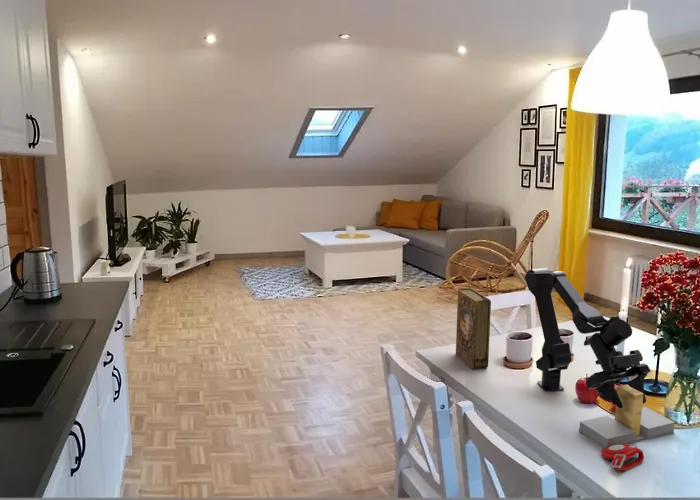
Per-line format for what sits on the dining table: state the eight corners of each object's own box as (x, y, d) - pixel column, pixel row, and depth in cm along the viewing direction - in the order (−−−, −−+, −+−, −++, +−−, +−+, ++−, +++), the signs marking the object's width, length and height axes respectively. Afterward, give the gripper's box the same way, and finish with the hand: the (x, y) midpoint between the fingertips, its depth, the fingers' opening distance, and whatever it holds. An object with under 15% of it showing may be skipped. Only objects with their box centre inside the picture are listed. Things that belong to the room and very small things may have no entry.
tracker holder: (593, 445, 155) (631, 436, 154) (598, 461, 155) (635, 453, 154) (611, 460, 143) (652, 451, 142) (616, 478, 143) (657, 469, 142)
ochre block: (613, 426, 165) (617, 386, 163) (622, 424, 166) (626, 384, 164) (630, 436, 160) (635, 395, 158) (639, 434, 161) (643, 393, 159)
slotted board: (579, 431, 164) (579, 421, 163) (644, 416, 172) (645, 406, 172) (606, 449, 155) (607, 438, 154) (673, 432, 163) (674, 422, 162)
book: (454, 353, 221) (456, 288, 215) (467, 352, 222) (470, 287, 217) (473, 370, 205) (476, 301, 200) (488, 368, 206) (491, 300, 201)
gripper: (596, 345, 158) (625, 400, 151) (648, 336, 165) (678, 388, 157) (573, 362, 167) (599, 415, 159) (624, 353, 174) (651, 403, 166)
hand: (633, 405), depth 160 cm, fingers open, 8 cm apart
